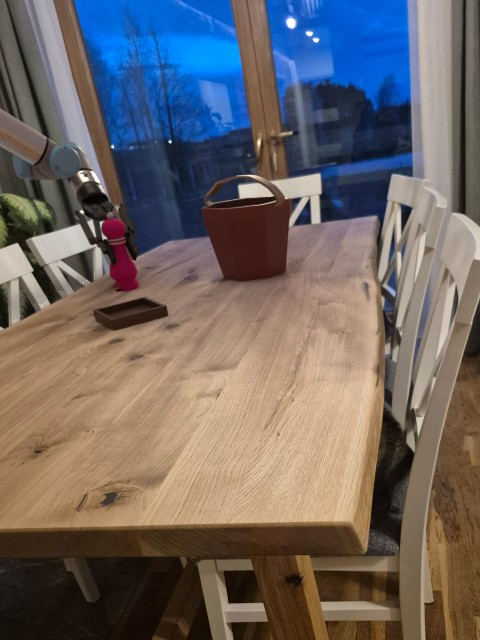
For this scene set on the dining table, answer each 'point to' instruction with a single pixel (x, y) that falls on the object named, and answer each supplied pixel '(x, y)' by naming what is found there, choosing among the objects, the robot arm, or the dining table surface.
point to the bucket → (249, 232)
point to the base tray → (130, 313)
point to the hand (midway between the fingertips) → (125, 259)
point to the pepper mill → (119, 255)
